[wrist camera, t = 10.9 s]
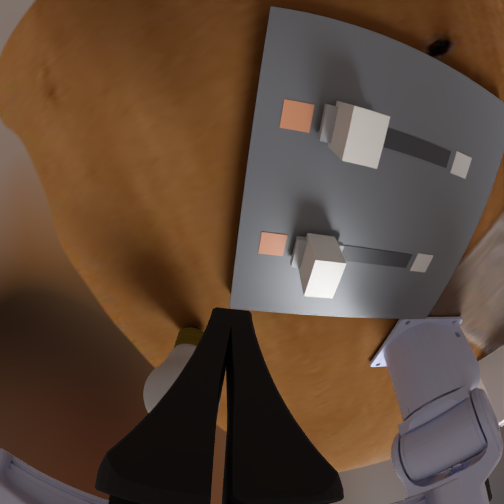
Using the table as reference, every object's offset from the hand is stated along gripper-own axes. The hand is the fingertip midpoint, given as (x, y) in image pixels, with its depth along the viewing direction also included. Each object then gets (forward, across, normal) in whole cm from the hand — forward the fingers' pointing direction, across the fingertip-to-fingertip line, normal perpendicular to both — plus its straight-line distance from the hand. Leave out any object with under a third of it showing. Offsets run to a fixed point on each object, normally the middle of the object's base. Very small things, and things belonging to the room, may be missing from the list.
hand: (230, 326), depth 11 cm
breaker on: (+8, -5, +1) cm, 9 cm away
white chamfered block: (+10, -47, +20) cm, 52 cm away
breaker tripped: (+8, -5, -7) cm, 11 cm away
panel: (+9, -9, -3) cm, 13 cm away
